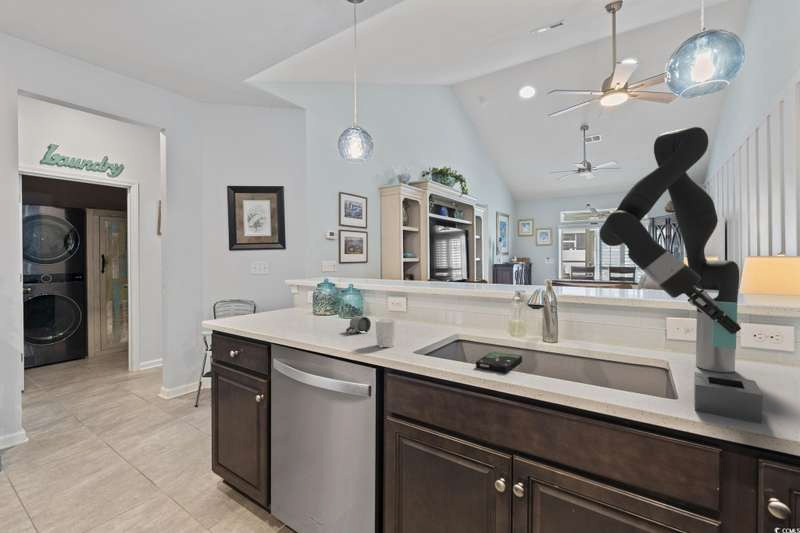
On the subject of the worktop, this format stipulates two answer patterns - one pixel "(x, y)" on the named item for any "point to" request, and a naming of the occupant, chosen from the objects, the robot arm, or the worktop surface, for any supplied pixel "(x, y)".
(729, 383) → the socket block
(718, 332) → the teal peg
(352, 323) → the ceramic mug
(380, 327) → the white cup
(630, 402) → the worktop surface
